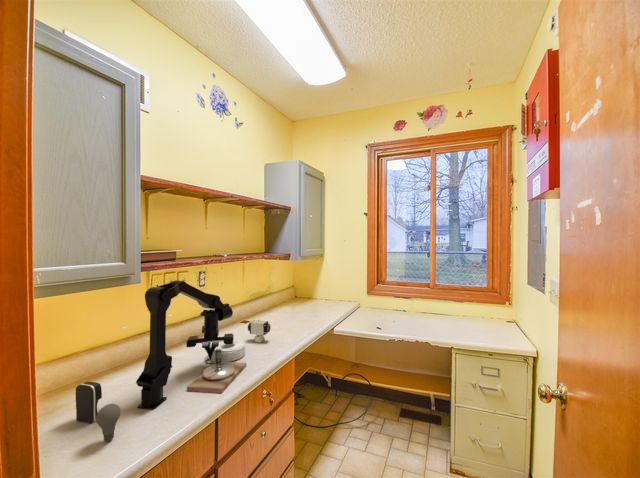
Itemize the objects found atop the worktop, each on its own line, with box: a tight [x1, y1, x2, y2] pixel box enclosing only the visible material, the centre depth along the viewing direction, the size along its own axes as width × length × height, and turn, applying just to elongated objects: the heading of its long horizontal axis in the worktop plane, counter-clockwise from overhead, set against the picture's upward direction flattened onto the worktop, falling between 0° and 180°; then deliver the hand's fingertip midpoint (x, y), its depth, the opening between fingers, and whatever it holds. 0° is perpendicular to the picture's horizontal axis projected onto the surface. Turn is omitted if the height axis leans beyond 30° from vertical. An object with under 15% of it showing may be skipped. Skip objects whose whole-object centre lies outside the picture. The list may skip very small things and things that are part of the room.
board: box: [186, 361, 247, 394], centre depth 116 cm, size 22×14×2 cm, turn 171°
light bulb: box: [95, 403, 121, 442], centre depth 80 cm, size 6×6×10 cm
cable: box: [204, 339, 246, 364], centre depth 137 cm, size 18×18×6 cm
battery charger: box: [75, 381, 103, 424], centre depth 90 cm, size 7×4×11 cm, turn 76°
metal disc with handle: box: [202, 349, 234, 381], centre depth 117 cm, size 15×12×6 cm
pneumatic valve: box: [247, 319, 272, 344], centre depth 156 cm, size 6×12×12 cm, turn 74°
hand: (210, 359), depth 123 cm, fingers closed
